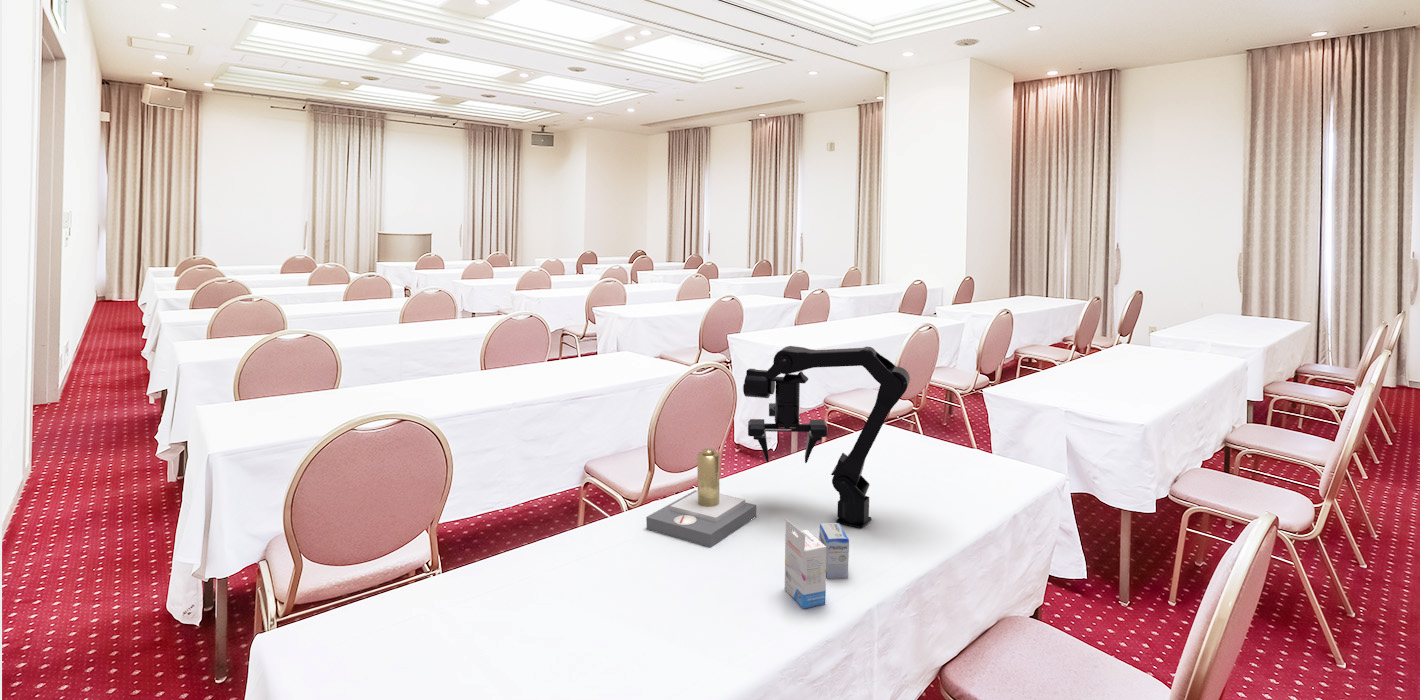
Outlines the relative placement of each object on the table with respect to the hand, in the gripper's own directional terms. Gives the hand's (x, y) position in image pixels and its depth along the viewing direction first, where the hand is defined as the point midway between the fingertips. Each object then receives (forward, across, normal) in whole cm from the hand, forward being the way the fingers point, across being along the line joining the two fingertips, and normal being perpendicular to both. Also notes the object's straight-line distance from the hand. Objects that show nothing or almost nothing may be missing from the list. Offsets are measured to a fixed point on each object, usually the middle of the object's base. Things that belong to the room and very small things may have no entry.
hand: (786, 462), depth 181 cm
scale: (+13, +20, +7) cm, 25 cm away
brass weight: (+9, +19, +5) cm, 21 cm away
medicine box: (+13, -9, +29) cm, 33 cm away
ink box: (+13, -2, +40) cm, 43 cm away
